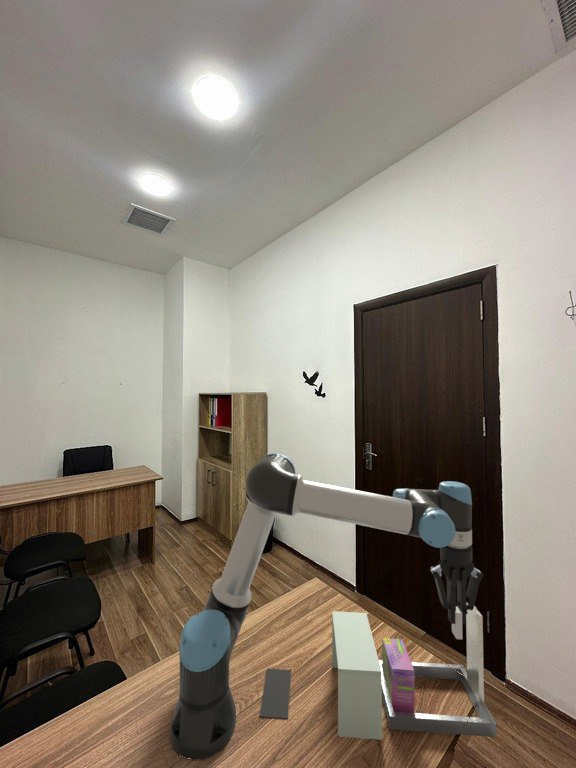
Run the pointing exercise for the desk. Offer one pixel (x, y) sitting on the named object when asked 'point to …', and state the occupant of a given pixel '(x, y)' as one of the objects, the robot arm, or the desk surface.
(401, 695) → the box
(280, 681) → the mat
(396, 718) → the frame
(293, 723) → the desk surface
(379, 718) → the sage green tall block
